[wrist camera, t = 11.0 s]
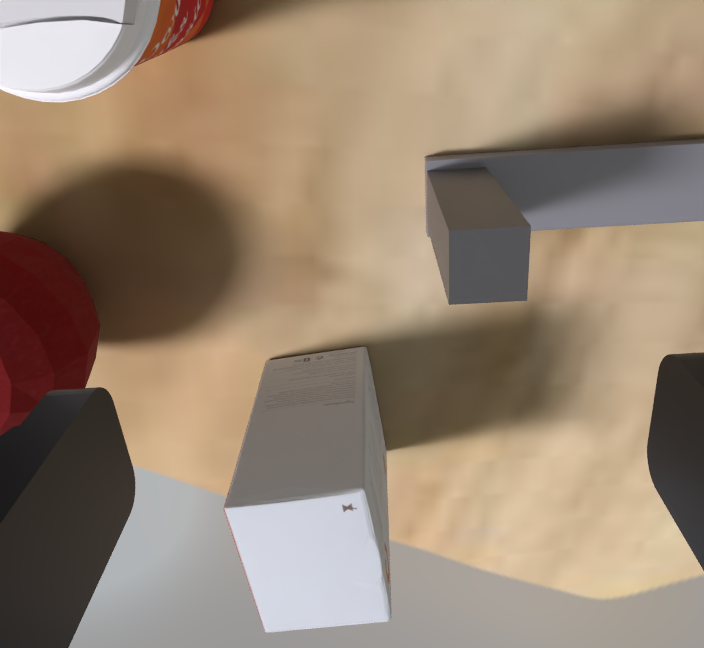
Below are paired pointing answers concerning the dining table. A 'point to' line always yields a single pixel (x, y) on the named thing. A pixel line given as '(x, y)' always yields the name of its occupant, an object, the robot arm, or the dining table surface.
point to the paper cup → (87, 42)
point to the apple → (41, 326)
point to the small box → (314, 495)
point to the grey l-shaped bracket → (547, 205)
